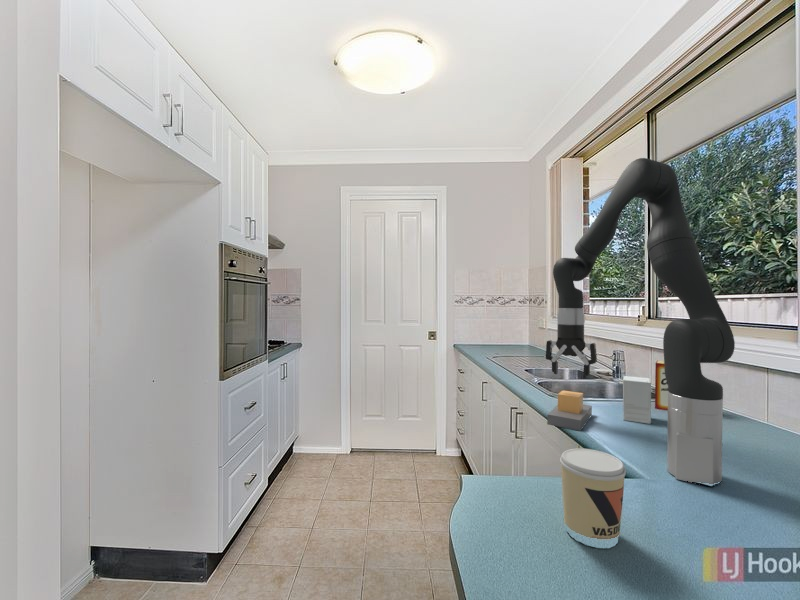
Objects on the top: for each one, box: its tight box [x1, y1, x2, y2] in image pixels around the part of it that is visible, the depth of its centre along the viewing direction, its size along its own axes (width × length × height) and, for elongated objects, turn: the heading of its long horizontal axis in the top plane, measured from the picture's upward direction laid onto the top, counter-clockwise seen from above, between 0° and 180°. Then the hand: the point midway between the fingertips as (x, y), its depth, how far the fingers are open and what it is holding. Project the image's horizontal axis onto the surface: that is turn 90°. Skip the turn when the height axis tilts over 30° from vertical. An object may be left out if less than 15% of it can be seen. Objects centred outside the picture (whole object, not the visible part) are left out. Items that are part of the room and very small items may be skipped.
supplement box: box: [622, 375, 652, 425], centre depth 119 cm, size 7×7×13 cm
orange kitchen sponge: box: [557, 390, 584, 414], centre depth 118 cm, size 6×6×5 cm
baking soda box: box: [654, 359, 668, 412], centre depth 130 cm, size 10×6×16 cm
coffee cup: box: [559, 447, 627, 539], centre depth 61 cm, size 9×9×12 cm
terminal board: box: [546, 403, 593, 432], centre depth 118 cm, size 18×9×6 cm, turn 144°
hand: (570, 375), depth 118 cm, fingers open, 8 cm apart
